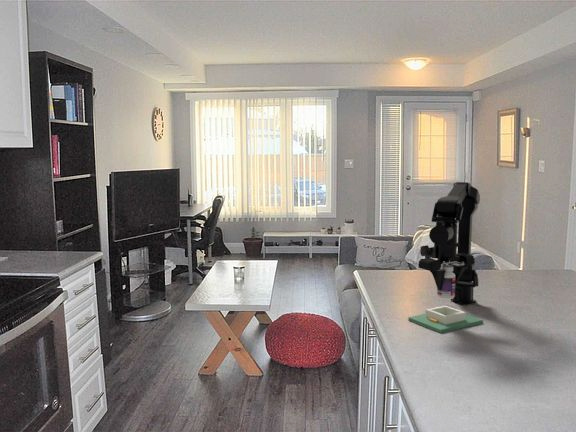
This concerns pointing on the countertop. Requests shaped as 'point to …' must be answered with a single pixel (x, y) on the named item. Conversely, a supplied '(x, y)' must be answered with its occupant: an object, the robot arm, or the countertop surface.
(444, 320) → the board
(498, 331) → the countertop surface
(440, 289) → the robot arm
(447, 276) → the pill bottle
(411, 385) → the countertop surface
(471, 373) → the countertop surface
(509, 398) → the countertop surface
